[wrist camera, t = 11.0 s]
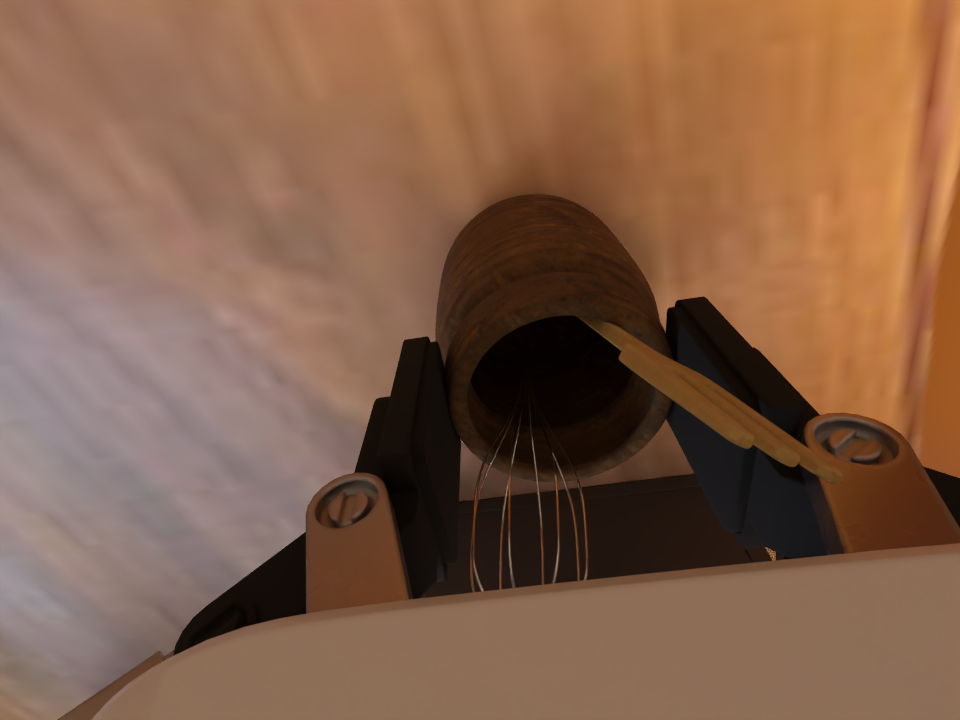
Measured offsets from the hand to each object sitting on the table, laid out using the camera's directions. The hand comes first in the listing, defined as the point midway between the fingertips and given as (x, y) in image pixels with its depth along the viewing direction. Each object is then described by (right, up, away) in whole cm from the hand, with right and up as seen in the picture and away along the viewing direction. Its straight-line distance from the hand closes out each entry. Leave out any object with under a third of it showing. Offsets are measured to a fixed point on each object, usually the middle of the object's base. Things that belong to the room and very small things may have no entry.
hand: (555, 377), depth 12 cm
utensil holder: (0, +3, +6) cm, 6 cm away
